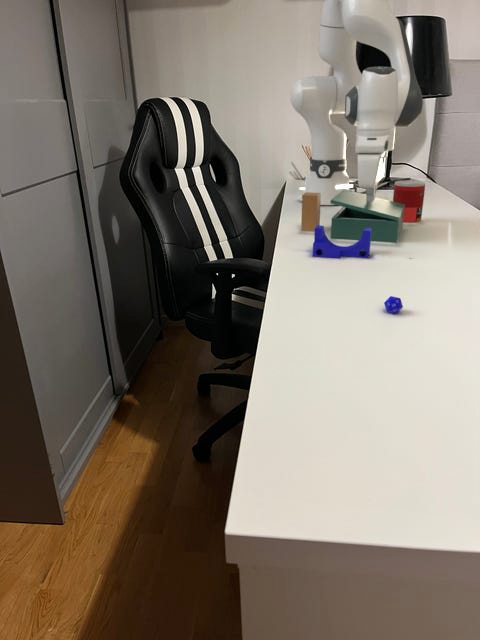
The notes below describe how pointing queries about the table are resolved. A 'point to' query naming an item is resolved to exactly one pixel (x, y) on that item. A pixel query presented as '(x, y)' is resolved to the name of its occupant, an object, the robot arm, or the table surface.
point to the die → (393, 304)
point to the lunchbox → (364, 226)
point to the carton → (310, 211)
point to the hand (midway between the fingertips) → (370, 201)
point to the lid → (369, 204)
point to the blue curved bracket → (339, 251)
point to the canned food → (410, 199)
